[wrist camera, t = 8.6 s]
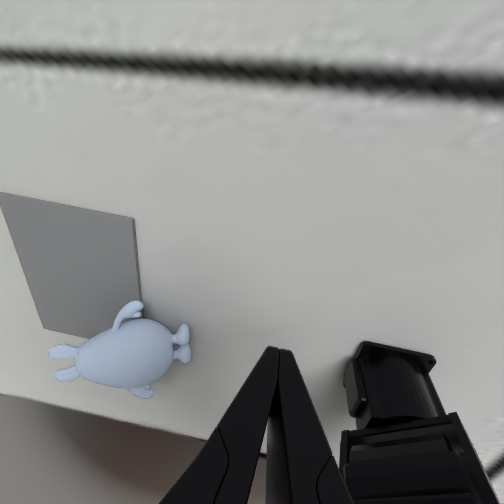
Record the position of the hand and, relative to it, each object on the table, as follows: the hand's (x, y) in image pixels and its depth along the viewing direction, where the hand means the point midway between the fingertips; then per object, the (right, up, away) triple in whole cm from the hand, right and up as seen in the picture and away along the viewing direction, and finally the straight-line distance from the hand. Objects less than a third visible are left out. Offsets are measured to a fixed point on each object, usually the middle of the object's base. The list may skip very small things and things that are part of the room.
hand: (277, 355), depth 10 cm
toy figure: (-7, -5, +18) cm, 20 cm away
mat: (-18, +1, +18) cm, 25 cm away
